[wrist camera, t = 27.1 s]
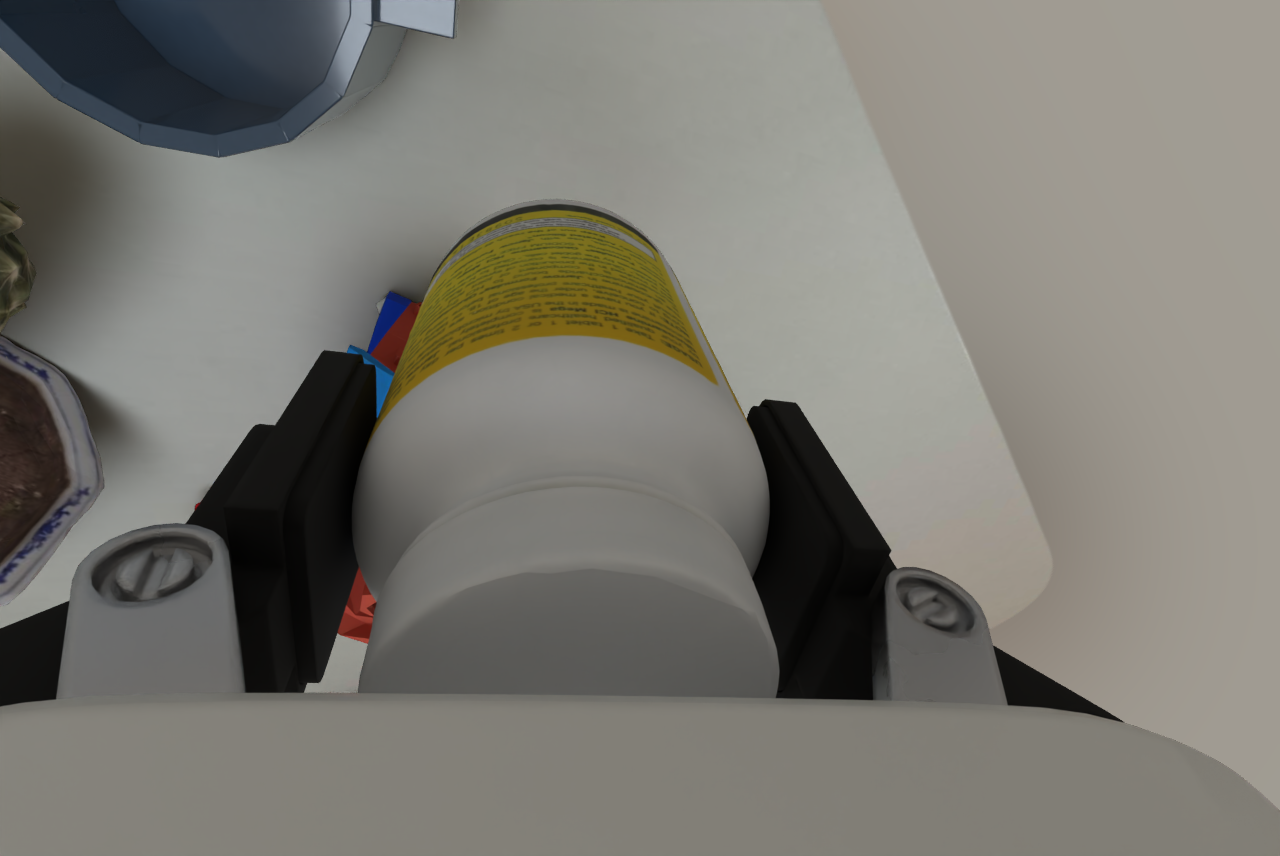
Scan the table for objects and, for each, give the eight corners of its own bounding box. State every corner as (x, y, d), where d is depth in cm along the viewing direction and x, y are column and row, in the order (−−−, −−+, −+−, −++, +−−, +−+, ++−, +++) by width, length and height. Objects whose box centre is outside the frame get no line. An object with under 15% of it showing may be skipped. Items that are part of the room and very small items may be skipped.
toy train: (570, 322, 40) (585, 468, 27) (469, 516, 46) (443, 707, 33) (399, 245, 36) (322, 372, 23) (316, 467, 43) (221, 660, 30)
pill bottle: (373, 307, 16) (130, 729, 7) (570, 132, 14) (617, 356, 5) (548, 465, 19) (552, 907, 10) (727, 333, 17) (936, 707, 8)
